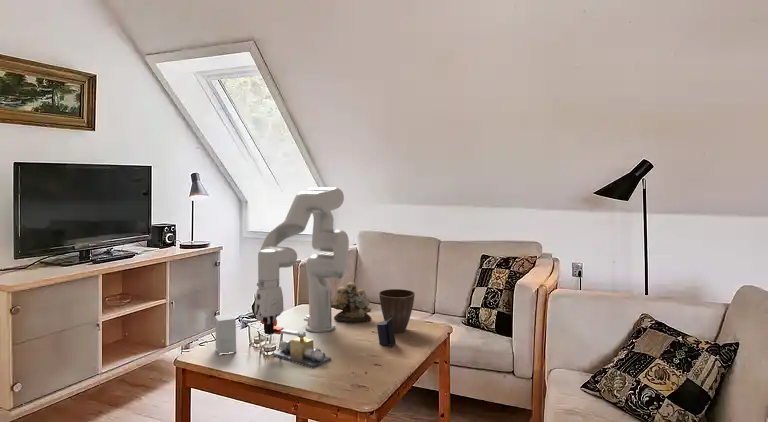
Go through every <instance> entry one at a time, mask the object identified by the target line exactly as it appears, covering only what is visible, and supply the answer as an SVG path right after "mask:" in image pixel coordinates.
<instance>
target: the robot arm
mask: <svg viewBox="0 0 768 422" xmlns="http://www.w3.org/2000/svg"><path fill="white" fill-rule="evenodd" d="M344 199H345V196H344V191H342V189H340V188H339V187H323V186H322V187H320V186H317V187H314V186H313V187H309V188H307V189H305V191H299V192H298V193H297V194H296V195H295V197H294V199H293V201H292V204H291V205H290V208H289V209H288V211H287V214H286V216H285V219H284V221H283V222H282V223H280V224H278V225H277V226H276V227H275V228H273V229H272V230H271V231H270V232H269V233H268V234H267V235H266V237H265V238H264V241H263V243H262V244H261V247H260V250H259V251H258V253H257V283H256V286H257V288H256V293H255V302H254V303H255V306H254V307H255V308H254V311H255V315H256V320H257V321H263V323H264V334H266V335H269V336H271V335H274V323H275V319H277V318H278V317H279V316H280V315H282V313H283V312H284V296H283V289H282V286H281V285H280V268H282V269H283V268H290V267H292V266H294V265H295V264H296V263H297V261H298V254H297V251H296V250H295V249H294V248H292V247H288V246H279V245H280V244H281V243H282V242H283V241H285V240H286V239H289V238H291V237H294V236H296V235H300V234H301V233H303V232H305V230H306V228H307V226H308V223H309V220H310V218H311V217H313V226H312V236H311V247H312V249H313V250H315V251H317V252H322V253H323V252H324V253H333V255H330V254H319V253H318V254H312V255H310V256H309V257H307V260H306V261H305V269H306V275H307V281H308V282H307V283H308V314H307V315H305V317H304V318H303V321H304V322H305V321H306V322H307V324H306V325H305V329H306V331H308V332H312V333H326V332H330V331H333V330H335V328H336V324H335V323H334V322H332V320H333V319H332V317H333V316H332V285H331V283H330V281H329V279H333V280H334V279H336V280H338V279H343V278H344V277H345V276H346V274H347V268H348V260H349V247H350V246H349V245H350V244H349V243H350V240H349V236H348V233H347V232H346V231H344V230H342V229H334V216H333V213H332V211H334V210H337V209H339V208H340V207H341V206H342V205H343V203H344Z"/></svg>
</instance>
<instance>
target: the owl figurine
mask: <svg viewBox="0 0 768 422" xmlns="http://www.w3.org/2000/svg"><path fill="white" fill-rule="evenodd" d="M335 298H336V299H335V302H334V303H331V308H333V309H334V310H339V311H340V312H338V313H336V314H335V316H334V317H333V319H334V322H338V323H345V324H363V323H367V322H371V320H372V317H371V316H370V314H368V313H371V312H372V308H369V306H370V296H369V295H368V294H367V293H366V291H365V289H362V288H361V289H358V288H357V285H356V283H355V282H351V281H350V282H348V283H347V284H346V287H345V286H339V287H338V288H337V293H336V297H335Z"/></svg>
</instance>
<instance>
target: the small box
mask: <svg viewBox="0 0 768 422" xmlns="http://www.w3.org/2000/svg"><path fill="white" fill-rule="evenodd" d="M214 318H215V320H214V323H215V324H214V327H215V328H214V329H215V331H214V332H215V350H216V349H217V351H218V353H219V354H220V353H229V352H236V353H237V334H236V333H237V330H236V329H237V328H236V320H237V319H236V318H235V316H234V315H233V314H232V313H228V314H219V315H215V316H214ZM217 351H216V352H217ZM218 353H217V354H218ZM219 354H218V355H219Z"/></svg>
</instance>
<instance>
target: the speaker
mask: <svg viewBox="0 0 768 422" xmlns="http://www.w3.org/2000/svg"><path fill="white" fill-rule="evenodd" d="M376 329H377V335H378V337H377V338H378V341H379V343H378V344H379V345H380V346H388V345H390V348H391V349H392V348H394V346H395V345H396V344H397V342H396V341H397V340H396V336H395V334H396V333H394V327H393V320H392V318H390V319H389V320H388V321H384V320H383V321H382V320H381V321H378V322H377V323H376Z"/></svg>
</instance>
